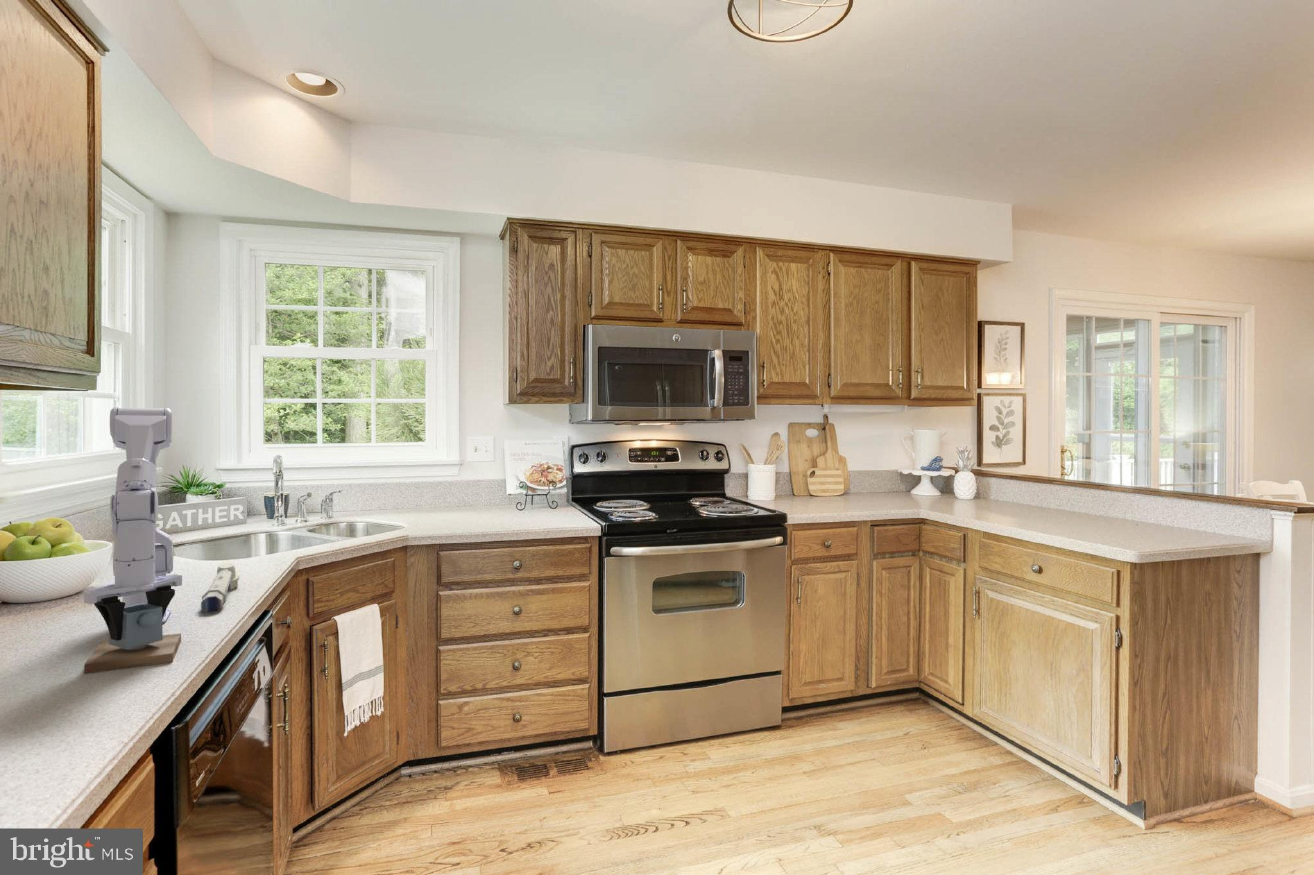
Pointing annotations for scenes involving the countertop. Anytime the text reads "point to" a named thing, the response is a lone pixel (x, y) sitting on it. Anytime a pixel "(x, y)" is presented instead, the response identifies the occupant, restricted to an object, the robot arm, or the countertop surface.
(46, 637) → the countertop surface
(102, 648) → the base
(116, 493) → the robot arm
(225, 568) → the beige flashlight
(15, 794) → the countertop surface
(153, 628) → the duct sleeve
